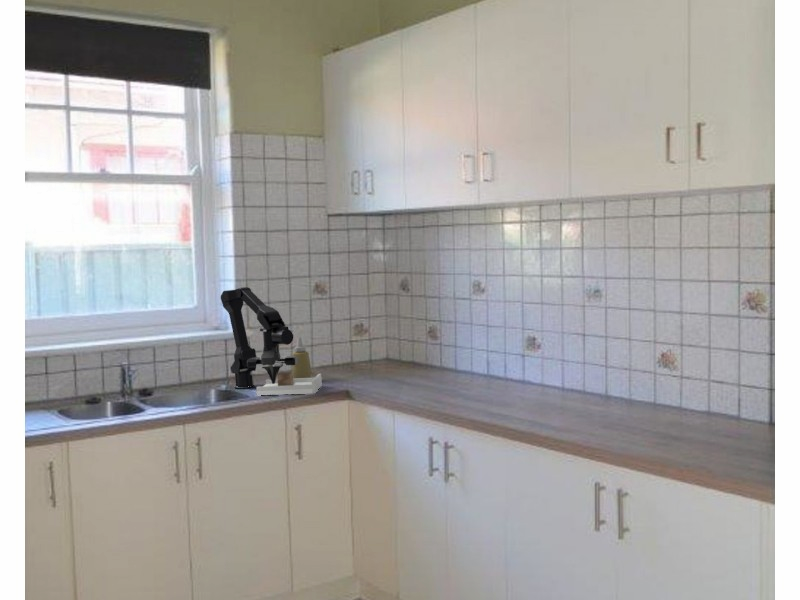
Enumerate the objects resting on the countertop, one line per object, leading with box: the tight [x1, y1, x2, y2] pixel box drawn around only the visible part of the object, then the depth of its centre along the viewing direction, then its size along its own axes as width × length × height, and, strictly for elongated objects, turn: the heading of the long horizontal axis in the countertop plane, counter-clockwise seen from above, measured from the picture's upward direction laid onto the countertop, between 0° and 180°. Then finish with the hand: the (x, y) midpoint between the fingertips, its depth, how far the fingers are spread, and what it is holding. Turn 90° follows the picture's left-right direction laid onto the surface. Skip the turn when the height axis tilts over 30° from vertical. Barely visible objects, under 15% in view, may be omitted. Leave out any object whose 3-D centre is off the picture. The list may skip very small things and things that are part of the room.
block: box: [276, 371, 294, 386], centre depth 332 cm, size 5×5×5 cm
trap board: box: [256, 373, 323, 397], centre depth 332 cm, size 22×16×5 cm
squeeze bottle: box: [291, 337, 312, 379], centre depth 351 cm, size 8×8×18 cm
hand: (273, 383), depth 332 cm, fingers closed
